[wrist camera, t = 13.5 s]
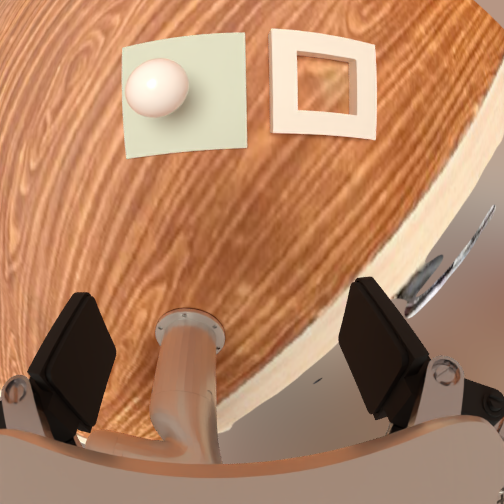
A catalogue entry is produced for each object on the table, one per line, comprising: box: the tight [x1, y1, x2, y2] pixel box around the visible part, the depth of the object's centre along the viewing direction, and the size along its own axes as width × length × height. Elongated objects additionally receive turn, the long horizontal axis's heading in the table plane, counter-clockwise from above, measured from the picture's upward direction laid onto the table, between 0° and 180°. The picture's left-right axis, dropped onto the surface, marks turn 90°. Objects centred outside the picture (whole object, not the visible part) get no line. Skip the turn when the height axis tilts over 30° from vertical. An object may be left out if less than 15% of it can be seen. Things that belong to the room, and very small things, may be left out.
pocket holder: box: [268, 29, 377, 140], centre depth 29 cm, size 14×14×2 cm
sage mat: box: [122, 33, 247, 159], centre depth 29 cm, size 16×16×1 cm
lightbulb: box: [125, 58, 189, 118], centre depth 23 cm, size 6×6×11 cm
